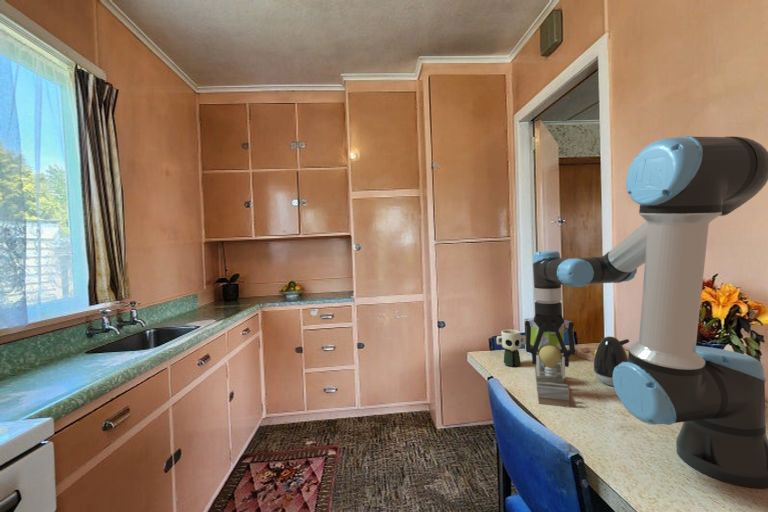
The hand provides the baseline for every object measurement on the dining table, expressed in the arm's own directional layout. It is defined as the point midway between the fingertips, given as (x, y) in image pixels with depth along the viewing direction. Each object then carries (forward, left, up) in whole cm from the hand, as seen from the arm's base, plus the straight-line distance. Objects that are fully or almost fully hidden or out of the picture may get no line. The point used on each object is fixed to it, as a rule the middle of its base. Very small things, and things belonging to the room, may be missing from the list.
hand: (550, 375), depth 107 cm
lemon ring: (+43, -20, -6) cm, 48 cm away
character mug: (+25, +12, -6) cm, 28 cm away
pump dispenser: (+14, -19, -6) cm, 24 cm away
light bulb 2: (+40, -20, -6) cm, 45 cm away
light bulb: (0, 0, 0) cm, 0 cm away
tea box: (+38, 0, -6) cm, 38 cm away
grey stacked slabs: (+4, 0, -6) cm, 7 cm away
